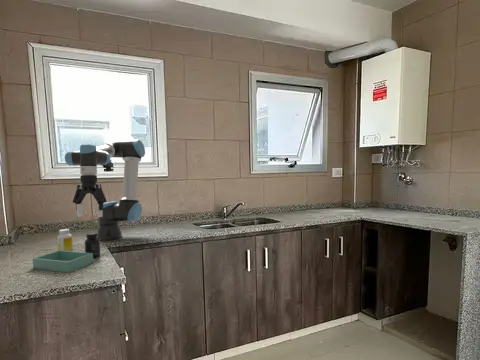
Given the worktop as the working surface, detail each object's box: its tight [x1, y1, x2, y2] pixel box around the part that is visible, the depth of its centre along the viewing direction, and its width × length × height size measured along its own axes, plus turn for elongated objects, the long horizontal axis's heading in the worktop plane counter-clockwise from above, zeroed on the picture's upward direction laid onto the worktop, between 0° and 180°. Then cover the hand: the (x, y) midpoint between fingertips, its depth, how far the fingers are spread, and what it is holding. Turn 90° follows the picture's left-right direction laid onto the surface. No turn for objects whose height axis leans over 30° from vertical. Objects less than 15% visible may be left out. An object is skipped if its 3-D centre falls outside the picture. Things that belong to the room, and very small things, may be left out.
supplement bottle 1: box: [57, 228, 74, 251], centre depth 158 cm, size 7×7×13 cm
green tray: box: [32, 250, 94, 274], centre depth 138 cm, size 14×22×5 cm, turn 70°
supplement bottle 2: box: [84, 232, 101, 260], centre depth 150 cm, size 7×7×12 cm
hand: (89, 216), depth 150 cm, fingers open, 13 cm apart
